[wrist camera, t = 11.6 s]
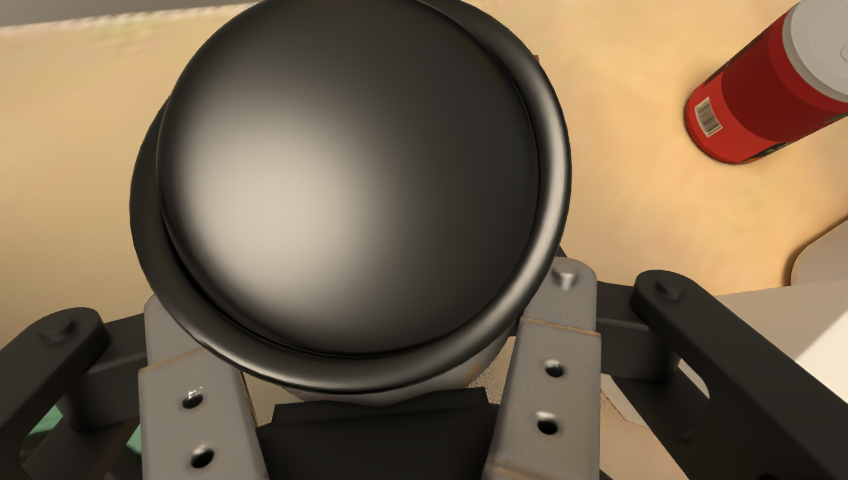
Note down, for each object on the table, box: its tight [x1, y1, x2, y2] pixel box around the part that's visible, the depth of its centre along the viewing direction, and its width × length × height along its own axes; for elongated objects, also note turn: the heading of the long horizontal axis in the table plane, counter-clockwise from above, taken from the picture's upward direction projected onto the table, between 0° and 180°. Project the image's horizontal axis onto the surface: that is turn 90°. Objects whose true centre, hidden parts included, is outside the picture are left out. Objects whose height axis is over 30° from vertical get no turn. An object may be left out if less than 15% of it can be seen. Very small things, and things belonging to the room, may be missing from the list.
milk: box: [601, 278, 848, 429], centre depth 23 cm, size 6×6×22 cm
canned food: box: [686, 0, 848, 163], centre depth 33 cm, size 8×8×11 cm
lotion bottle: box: [129, 0, 572, 407], centre depth 13 cm, size 6×6×20 cm
